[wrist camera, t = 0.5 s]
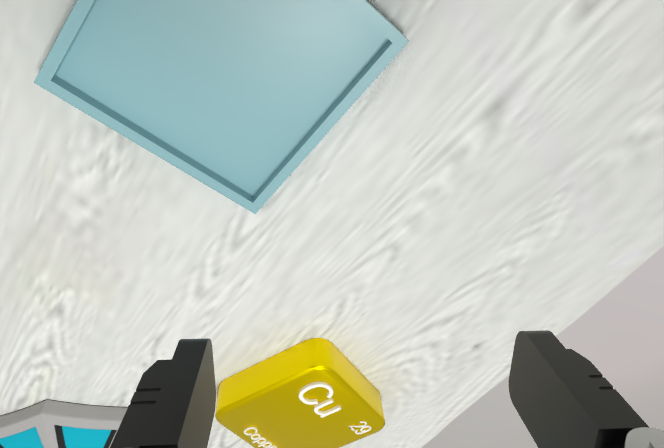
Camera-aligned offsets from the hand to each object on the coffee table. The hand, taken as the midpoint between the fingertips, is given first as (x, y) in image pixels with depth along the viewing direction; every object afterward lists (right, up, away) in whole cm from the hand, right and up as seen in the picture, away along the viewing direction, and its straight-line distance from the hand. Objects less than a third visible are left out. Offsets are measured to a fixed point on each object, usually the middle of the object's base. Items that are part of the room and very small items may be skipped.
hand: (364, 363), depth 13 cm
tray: (-8, +16, +22) cm, 29 cm away
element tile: (-4, -16, +47) cm, 50 cm away
